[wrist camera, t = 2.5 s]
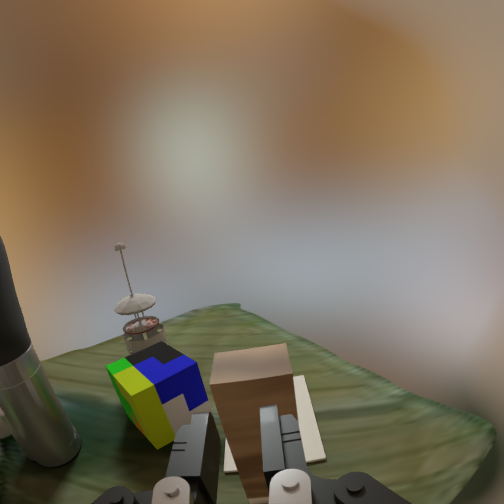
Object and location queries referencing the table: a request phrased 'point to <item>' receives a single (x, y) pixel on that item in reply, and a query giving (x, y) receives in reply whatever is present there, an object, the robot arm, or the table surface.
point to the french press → (142, 324)
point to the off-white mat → (306, 426)
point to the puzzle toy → (159, 391)
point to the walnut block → (251, 406)
